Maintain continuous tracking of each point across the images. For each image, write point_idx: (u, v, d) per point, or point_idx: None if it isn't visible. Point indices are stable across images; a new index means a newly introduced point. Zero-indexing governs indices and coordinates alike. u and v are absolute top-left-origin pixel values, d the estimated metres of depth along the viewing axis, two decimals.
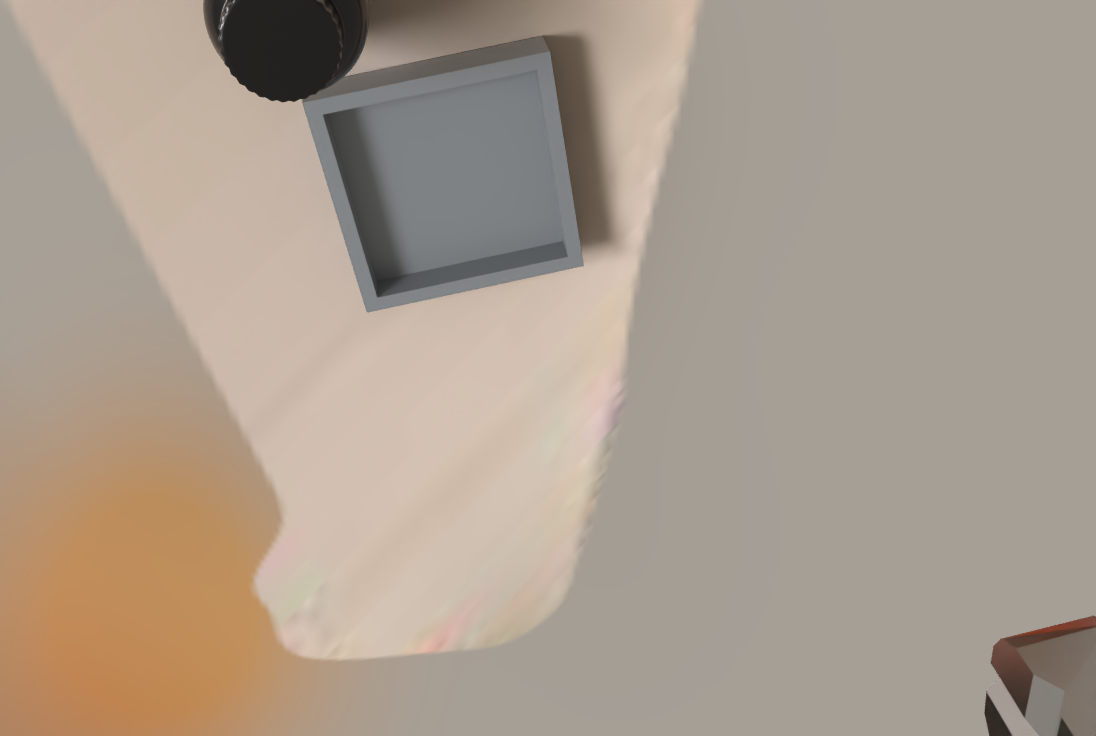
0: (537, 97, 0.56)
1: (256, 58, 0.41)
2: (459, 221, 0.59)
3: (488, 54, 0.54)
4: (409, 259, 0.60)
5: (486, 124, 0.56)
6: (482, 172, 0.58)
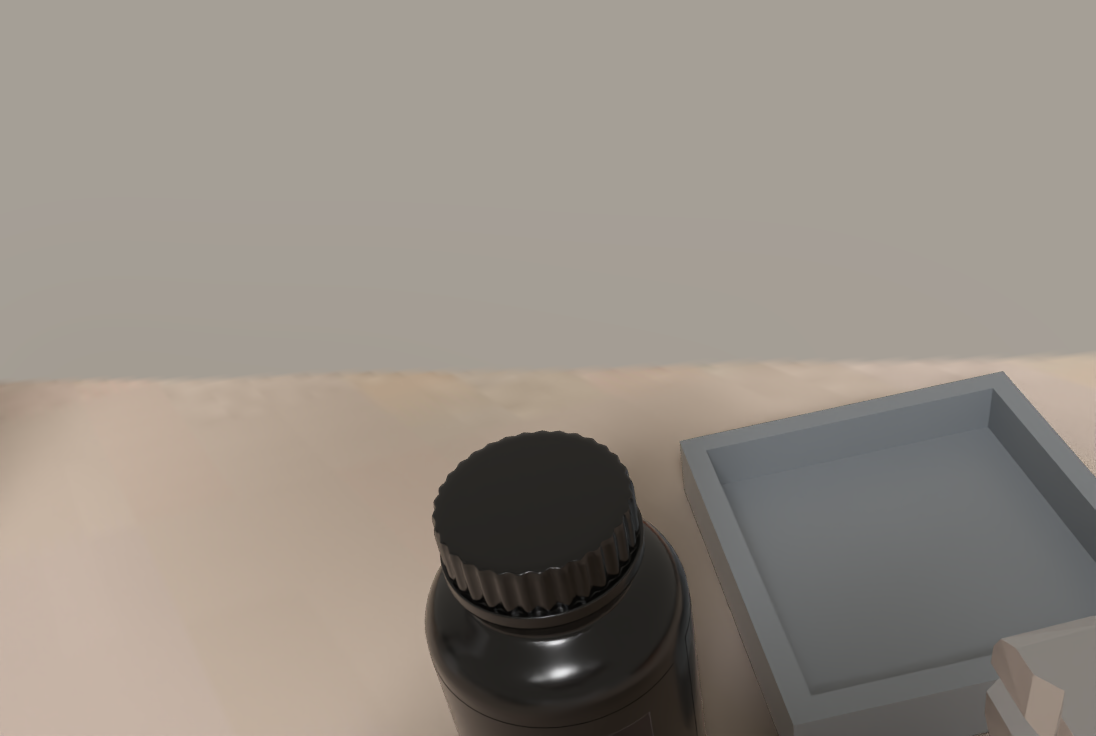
0: (764, 475, 0.40)
1: (552, 525, 0.24)
2: (994, 544, 0.36)
3: (703, 522, 0.38)
4: None
5: (815, 525, 0.38)
6: (895, 523, 0.37)
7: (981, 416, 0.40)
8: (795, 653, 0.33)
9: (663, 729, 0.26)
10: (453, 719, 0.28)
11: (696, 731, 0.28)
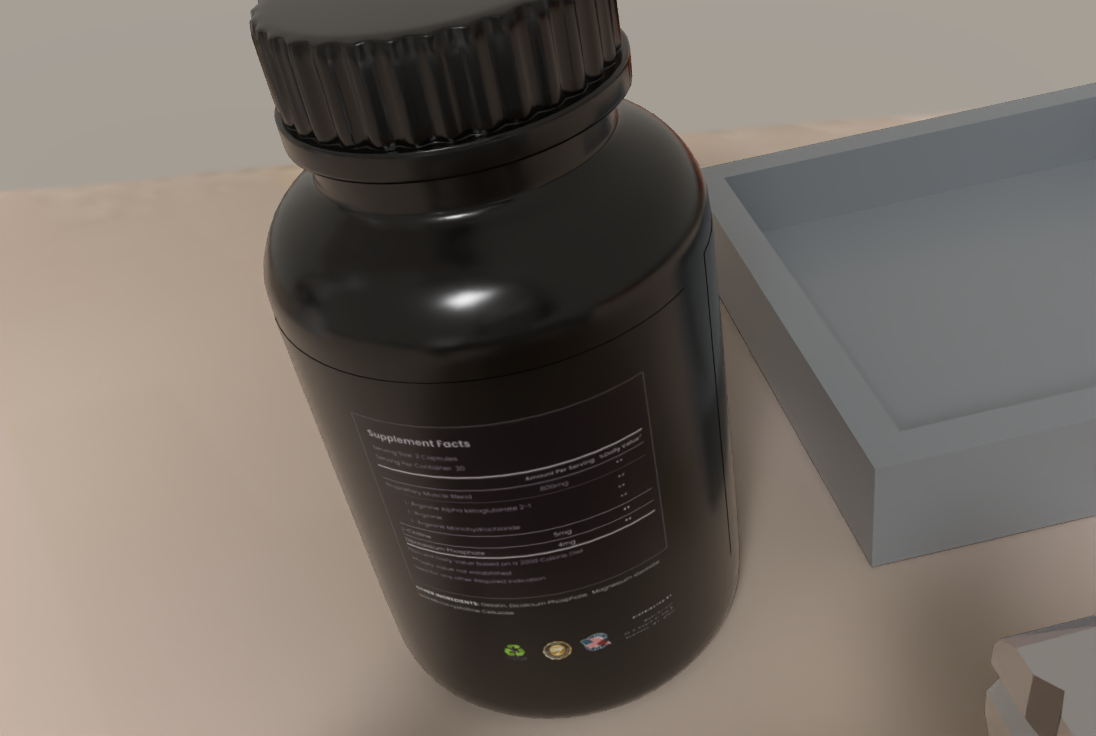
0: (804, 222, 0.29)
1: None
2: None
3: (721, 268, 0.27)
4: None
5: (879, 268, 0.27)
6: (994, 260, 0.26)
7: None
8: None
9: (667, 419, 0.15)
10: (322, 438, 0.17)
11: (722, 460, 0.17)
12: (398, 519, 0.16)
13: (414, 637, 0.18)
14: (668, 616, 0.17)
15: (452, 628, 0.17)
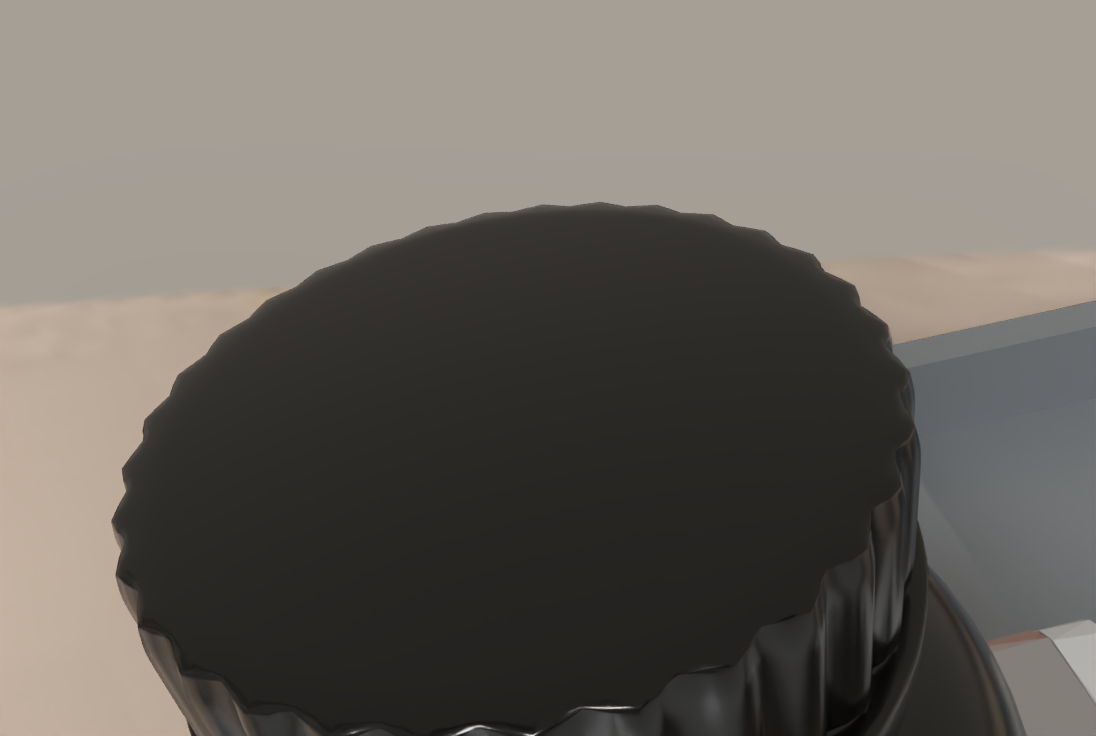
0: (953, 430, 0.22)
1: (588, 499, 0.05)
2: None
3: None
4: None
5: (1073, 519, 0.19)
6: None
7: None
8: None
9: None
10: None
11: None
12: None
13: None
14: None
15: None
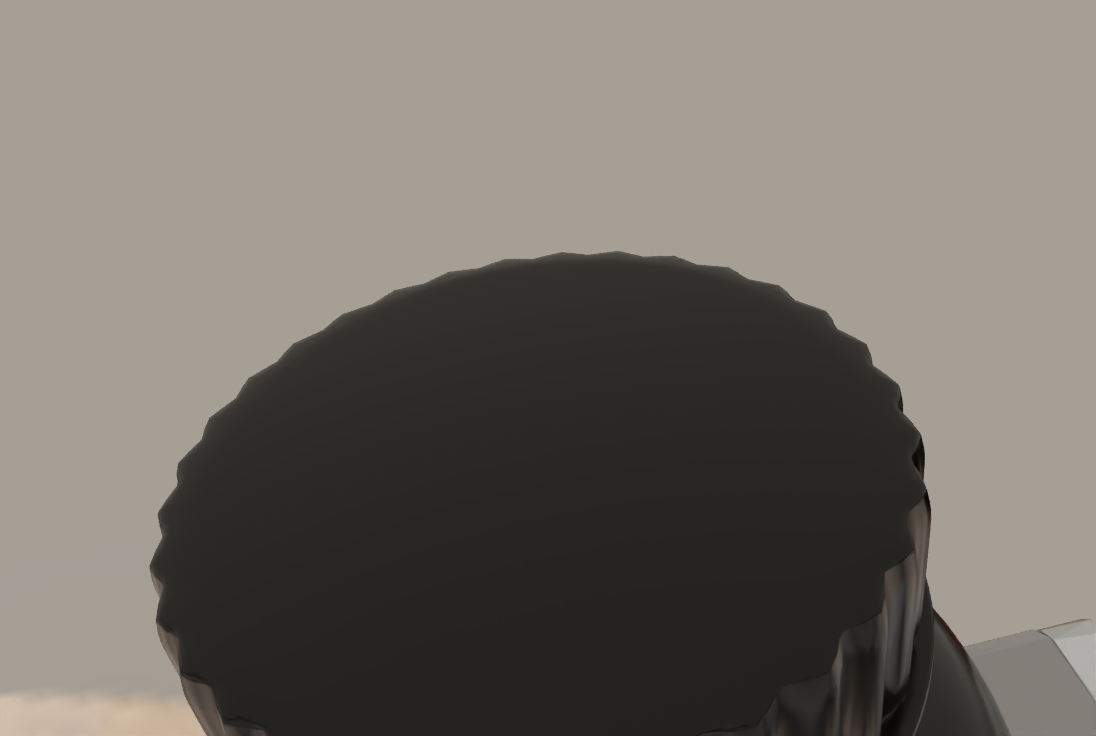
0: None
1: (612, 555, 0.06)
2: None
3: None
4: None
5: None
6: None
7: None
8: None
9: None
10: None
11: None
12: None
13: None
14: None
15: None
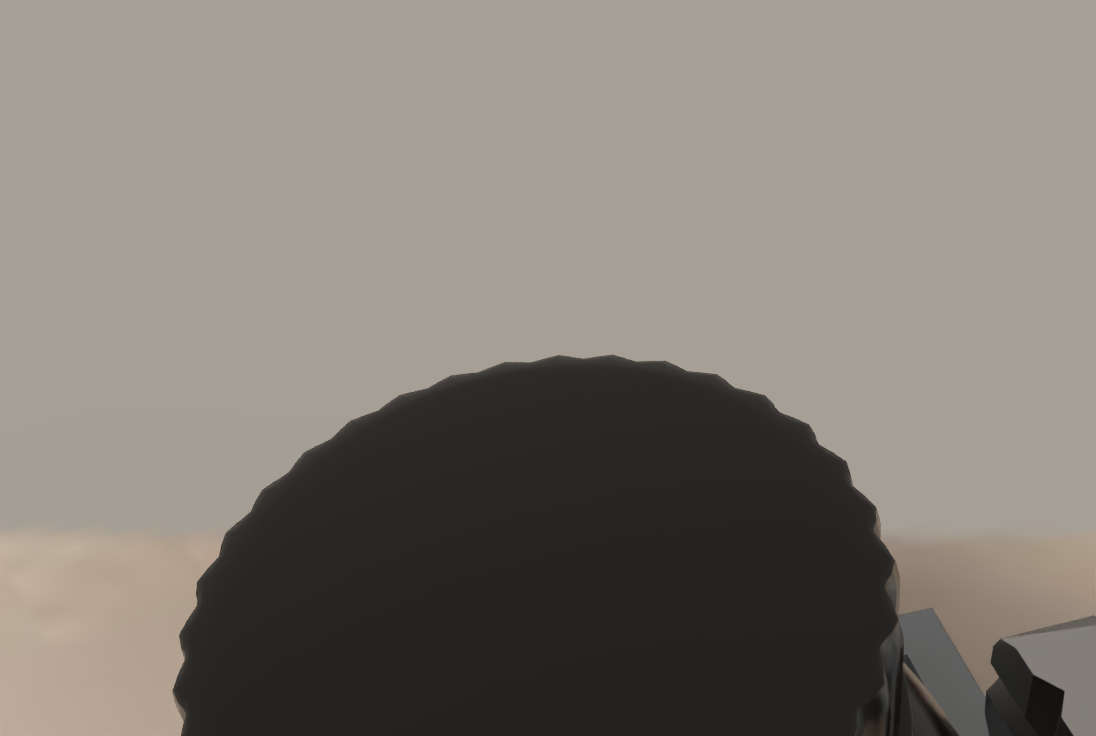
0: None
1: (603, 688, 0.06)
2: None
3: None
4: None
5: None
6: None
7: None
8: None
9: None
10: None
11: None
12: None
13: None
14: None
15: None
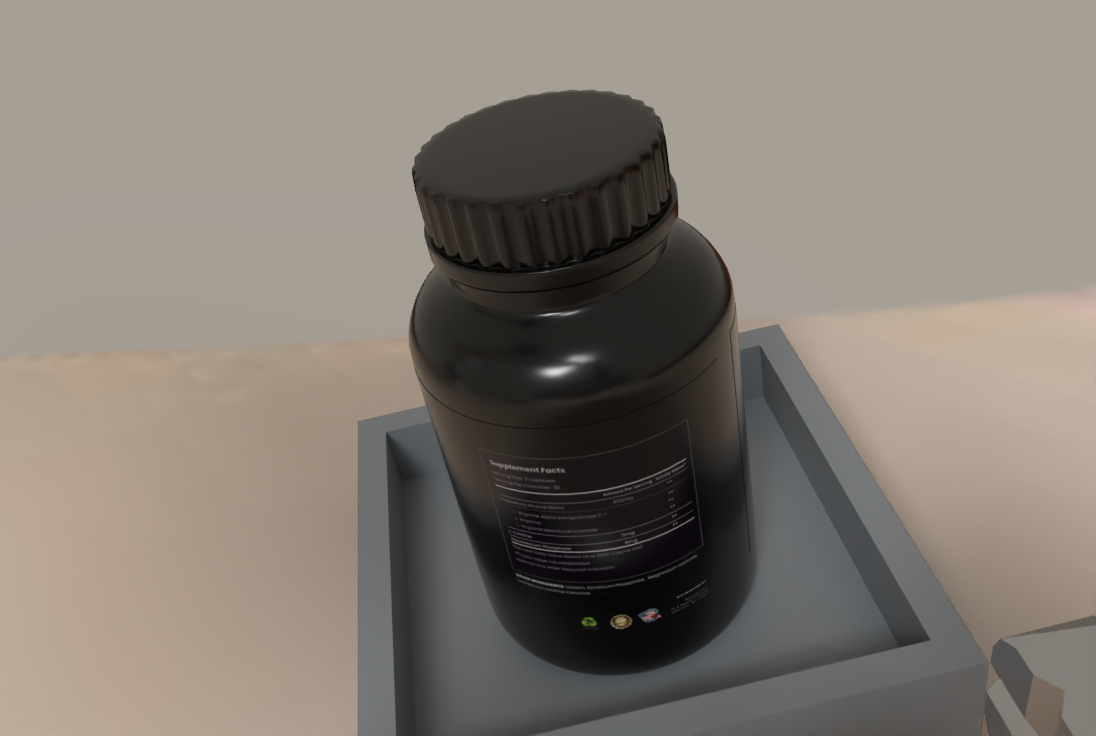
0: None
1: (561, 159, 0.19)
2: None
3: None
4: (846, 630, 0.24)
5: None
6: None
7: (752, 383, 0.31)
8: (436, 701, 0.24)
9: (703, 451, 0.21)
10: (446, 464, 0.23)
11: (743, 480, 0.23)
12: (507, 523, 0.21)
13: (510, 614, 0.24)
14: (703, 596, 0.23)
15: (542, 605, 0.23)
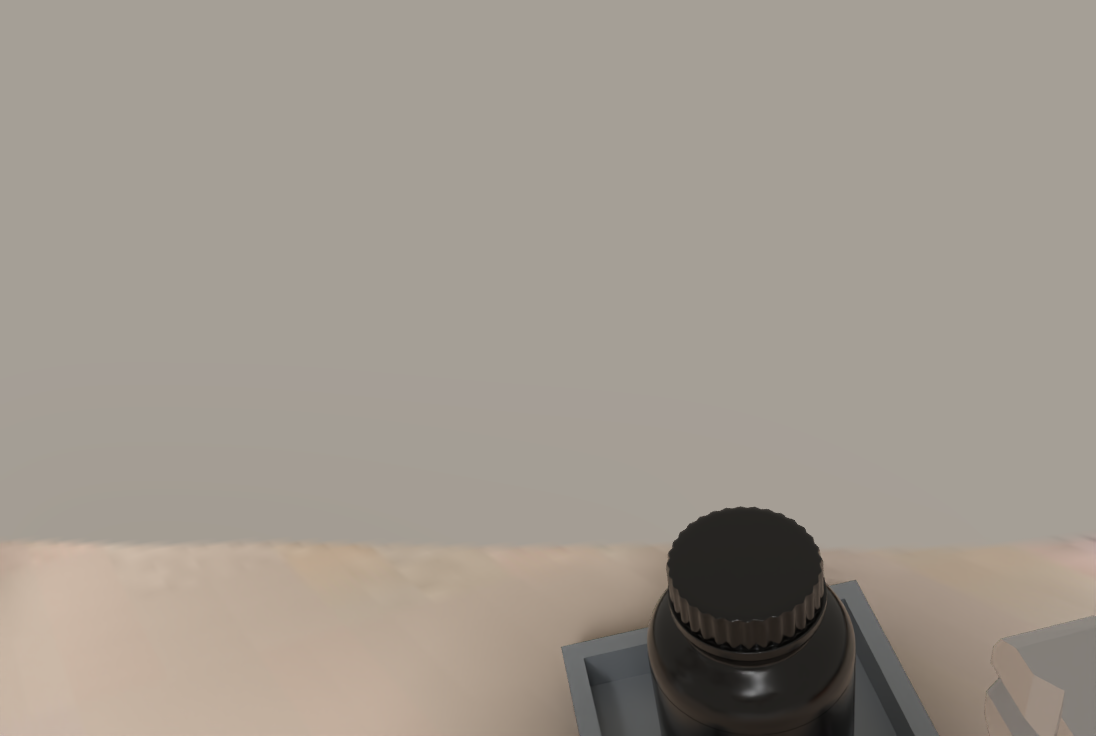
0: (640, 675, 0.44)
1: (765, 583, 0.32)
2: None
3: None
4: None
5: None
6: None
7: None
8: None
9: None
10: (665, 728, 0.35)
11: None
12: None
13: None
14: None
15: None
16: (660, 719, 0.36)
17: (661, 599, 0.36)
